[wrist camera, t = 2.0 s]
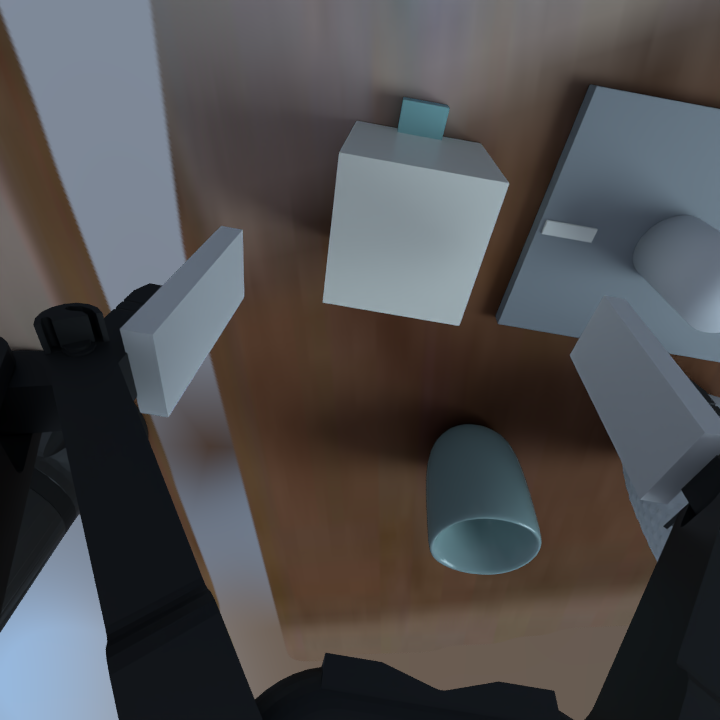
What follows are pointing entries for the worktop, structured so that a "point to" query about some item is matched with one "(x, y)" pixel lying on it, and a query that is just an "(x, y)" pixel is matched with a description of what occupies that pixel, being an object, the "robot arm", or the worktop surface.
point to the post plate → (628, 224)
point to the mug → (656, 512)
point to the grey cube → (411, 217)
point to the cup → (479, 503)
